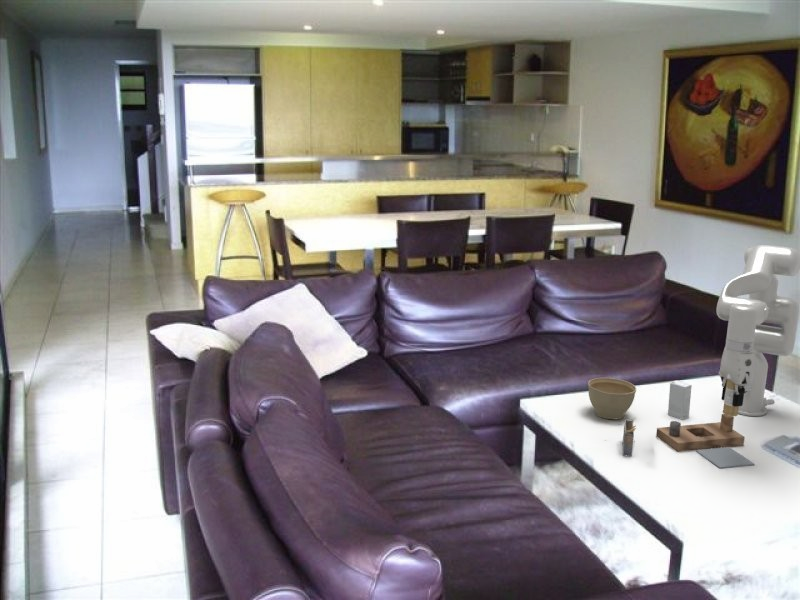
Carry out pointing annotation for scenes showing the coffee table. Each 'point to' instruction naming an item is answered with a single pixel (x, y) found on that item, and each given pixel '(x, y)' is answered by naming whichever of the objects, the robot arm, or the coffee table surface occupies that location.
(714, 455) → the pad
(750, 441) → the coffee table surface
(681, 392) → the skincare box
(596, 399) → the planter bowl
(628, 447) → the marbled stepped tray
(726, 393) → the sprinkles bottle
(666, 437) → the wooden peg board
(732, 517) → the coffee table surface
